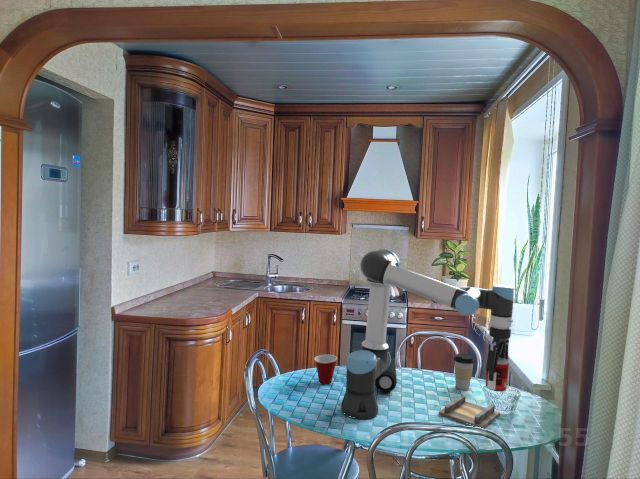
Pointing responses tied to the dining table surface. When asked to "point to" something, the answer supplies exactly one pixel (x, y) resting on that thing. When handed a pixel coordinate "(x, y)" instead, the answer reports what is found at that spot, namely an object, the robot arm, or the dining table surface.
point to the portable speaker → (387, 379)
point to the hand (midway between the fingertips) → (495, 385)
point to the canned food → (500, 375)
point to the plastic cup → (325, 367)
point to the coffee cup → (463, 370)
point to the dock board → (469, 412)
